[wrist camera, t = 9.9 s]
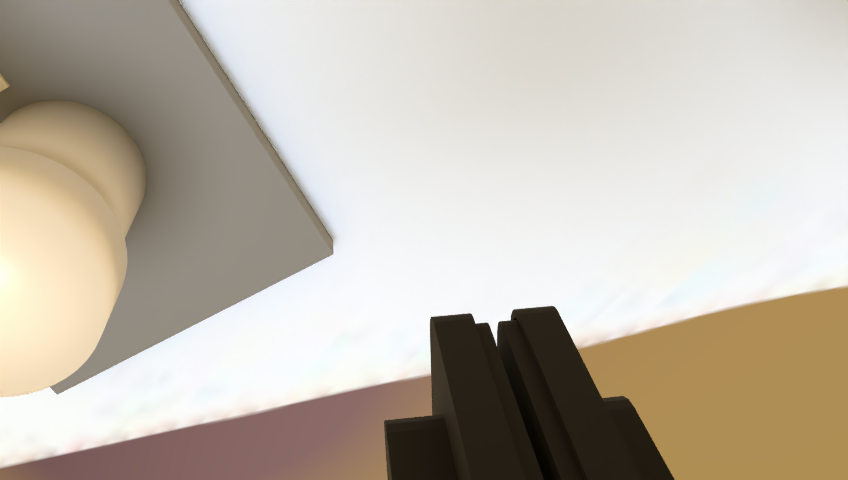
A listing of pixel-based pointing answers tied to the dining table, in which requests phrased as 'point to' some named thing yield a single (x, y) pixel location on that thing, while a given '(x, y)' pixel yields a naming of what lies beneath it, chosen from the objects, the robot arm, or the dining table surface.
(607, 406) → the robot arm
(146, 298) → the base
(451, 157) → the dining table surface
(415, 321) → the dining table surface
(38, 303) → the cream piece
